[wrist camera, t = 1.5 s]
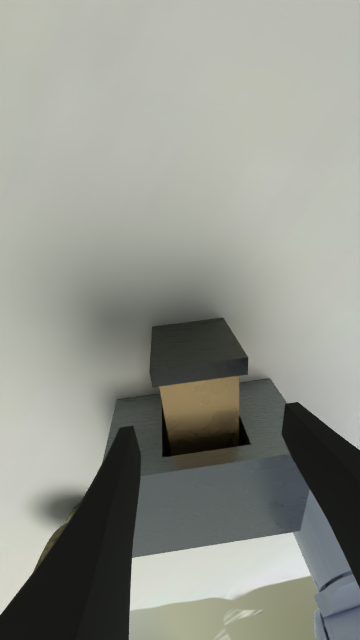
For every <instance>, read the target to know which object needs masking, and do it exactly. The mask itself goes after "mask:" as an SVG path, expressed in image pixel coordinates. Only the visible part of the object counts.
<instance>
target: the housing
mask: <svg viewBox="0 0 360 640" xmlns="http://www.w3.org/2000/svg"><path fill="white" fill-rule="evenodd" d="M285 404H287V402H286V401H285V400H284V398H283V397H282V395H281V394H280V392H279V391H278V389H277V388H276V386H275V385H274V383H273V382H272V380H271V379H264V380H257V381H250V382H243V383H239V446H238V447H231V448H224V449H217V450H210V451H203V452H197V453H190V454H183V455H176V456H172V455H171V450H170V444H169V439H168V433H167V427H166V422H165V416H164V411H163V405H162V400H161V394H155V395H148V396H141V397H133V398H126V399H119V400H117V402H116V407H115V411H114V415H113V419H112V424H111V428H110V432H109V437H108V441H107V445H106V450H105V454H104V458H103V461H104V459H105V457H106V455H107V453H108V451H109V449H110V447H111V445H112V443H113V441H114V438H115V436H116V434H117V431H118V429H119V428H120V427H126V426H134V430H135V434H136V437H137V441H138V445H139V449H140V453H141V479H140V488H139V497H138V505H137V514H136V522H135V530H134V539H133V549H132V558H134V557H140V556H146V555H152V554H159V553H165V552H171V551H178V550H184V549H190V548H196V547H203V546H209V545H215V544H221V543H228V542H234V541H240V540H247V539H253V538H259V537H265V536H272V535H278V534H284V533H290V532H297V531H300V529H301V525H302V521H303V516H304V512H305V508H306V503H307V499H308V495H309V490H310V489H309V487H308V485H307V483H306V482H305V480H304V478H303V476H302V475H301V473H300V471H299V469H298V468H297V466H296V464H295V462H294V460H293V459H292V457H291V455H290V453H289V450H288V448H287V446H286V444H285V441H284V439H283V436H282V434H281V433H282V425H283V417H284V409H285Z"/></svg>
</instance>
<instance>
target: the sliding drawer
mask: <svg viewBox="0 0 360 640" xmlns="http://www.w3.org/2000/svg"><path fill="white" fill-rule="evenodd" d="M240 375H248V357H247V355H246V353H245V352H244V350H243V349H242V347H241V345H240V344H239V342H238V341H237V339H236V337H235V336H234V334H233V333H232V331H231V329H230V328H229V326H228V325H227V323H226V321H225V320H224V318H218V319H210V320H202V321H194V322H187V323H179V324H171V325H163V326H155V327H152V341H151V356H150V376H151V381H152V386H153V387H159V388H160V394H161V400H162V405H163V411H164V416H165V422H166V427H167V433H168V439H169V444H170V450H171V455H172V456H176V455H183V454H190V453H197V452H203V451H210V450H217V449H224V448H231V447H238V446H239V376H240Z"/></svg>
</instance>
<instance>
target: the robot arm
mask: <svg viewBox="0 0 360 640" xmlns="http://www.w3.org/2000/svg"><path fill="white" fill-rule="evenodd" d="M281 434H282V436H283V439H284V441H285V444H286V446H287V448H288V450H289V453H290V455H291V457H292V459H293V460H294V462H295V464H296V466H297V468H298V469H299V471H300V473H301V475H302V476H303V478H304V480H305V482H306V483H307V485H308V487H309V489H310V490H309V495H308V499H307V503H306V508H305V512H304V516H303V521H302V525H301V529H300V531H297V532H293V534H294V536H295V538H296V541H297V543H298V545H299V548H300V550H301V552H302V555H303V557H304V560H305V562H306V564H307V567H308V569H309V571H310V574H311V576H312V578H313V581H314V583H315V585H316V588H317V590H318V594H315V595H314V597H315V599H316V602H317V604H318V607H319V609H317V610H315V613H314V619H315V621H314V632H315V637H316V640H360V450H359V449H357V448H356V447H355V446H353V445H352V444H350V443H349V442H348V441H346V440H345V439H344V438H343V437H341V436H340V435H339V434H337V433H336V432H335V431H333V430H332V429H331V428H330V427H328V426H327V425H326V424H324V423H323V422H322V421H321V420H319V419H318V418H317V417H316V416H314V415H313V414H312V413H311V412H309V411H308V410H307V409H306V408H304V407H303V406H302V405H301V404H299V403H298V402H295V403H288V404H285V409H284V417H283V425H282V433H281ZM140 479H141V453H140V449H139V445H138V441H137V437H136V434H135V430H134V426H126V427H120V428H119V429H118V431H117V434H116V436H115V438H114V441H113V443H112V445H111V447H110V449H109V451H108V453H107V455H106V457H105V459H104V461H103V463H102V465H101V467H100V469H99V471H98V473H97V475H96V476H95V478H94V480H93V482H92V484H91V485H90V487H89V489H88V491H87V492H86V494H85V496H84V498H83V499H82V501H81V503H80V504H79V506H78V508H77V509H76V511H75V512H74V514H73V516H72V517H71V519H70V520H69V522H68V523H67V525H66V526H65V528H64V530H63V531H62V533H61V534H60V536H59V537H58V538H57V540H56V541H55V543H54V544H53V546H52V547H51V549H50V550H49V551H48V553H47V554H46V556H45V557H44V559H43V560H42V561H41V563H40V564H39V565H38V567H37V568H36V569H35V571H34V572H33V574H32V575H31V576H30V578H29V579H28V580H27V581H26V583H25V584H24V585H23V587H22V588H21V589H20V590H19V592H18V593H17V594H16V596H15V597H14V598H13V599H12V601H11V602H10V603H9V605H8V606H7V607H6V609H5V610H4V611H3V612H2V614H1V615H0V640H129V639H128V638H129V610H130V585H131V564H132V549H133V539H134V530H135V522H136V514H137V505H138V497H139V488H140Z"/></svg>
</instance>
